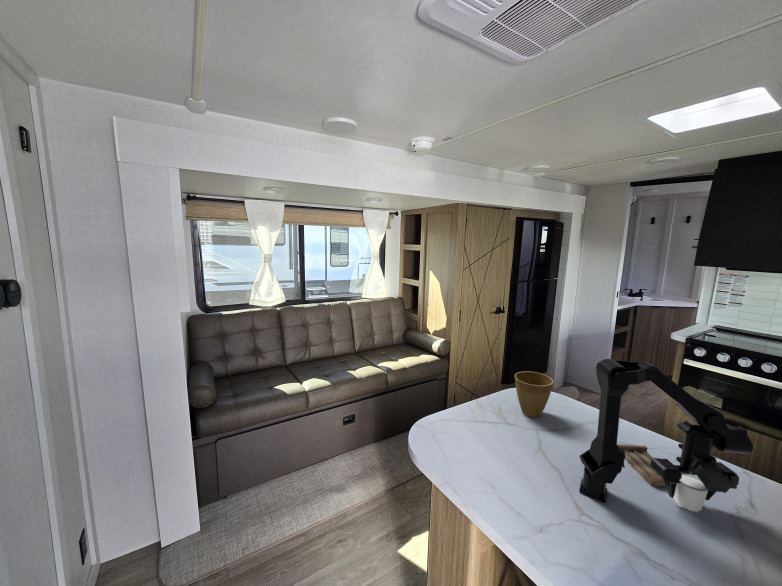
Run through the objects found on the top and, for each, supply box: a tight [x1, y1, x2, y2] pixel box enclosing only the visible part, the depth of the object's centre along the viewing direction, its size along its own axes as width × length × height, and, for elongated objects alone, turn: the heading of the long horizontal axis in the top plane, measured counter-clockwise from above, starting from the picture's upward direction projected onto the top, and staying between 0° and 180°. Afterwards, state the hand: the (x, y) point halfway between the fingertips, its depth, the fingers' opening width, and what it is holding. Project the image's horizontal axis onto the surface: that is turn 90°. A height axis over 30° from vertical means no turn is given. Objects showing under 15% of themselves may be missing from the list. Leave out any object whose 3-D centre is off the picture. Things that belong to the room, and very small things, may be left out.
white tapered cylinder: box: [673, 474, 708, 513], centre depth 87 cm, size 7×7×7 cm
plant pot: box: [514, 370, 554, 418], centre depth 134 cm, size 15×15×16 cm
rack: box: [617, 443, 666, 488], centre depth 102 cm, size 16×9×3 cm, turn 175°
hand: (688, 497), depth 88 cm, fingers open, 9 cm apart
